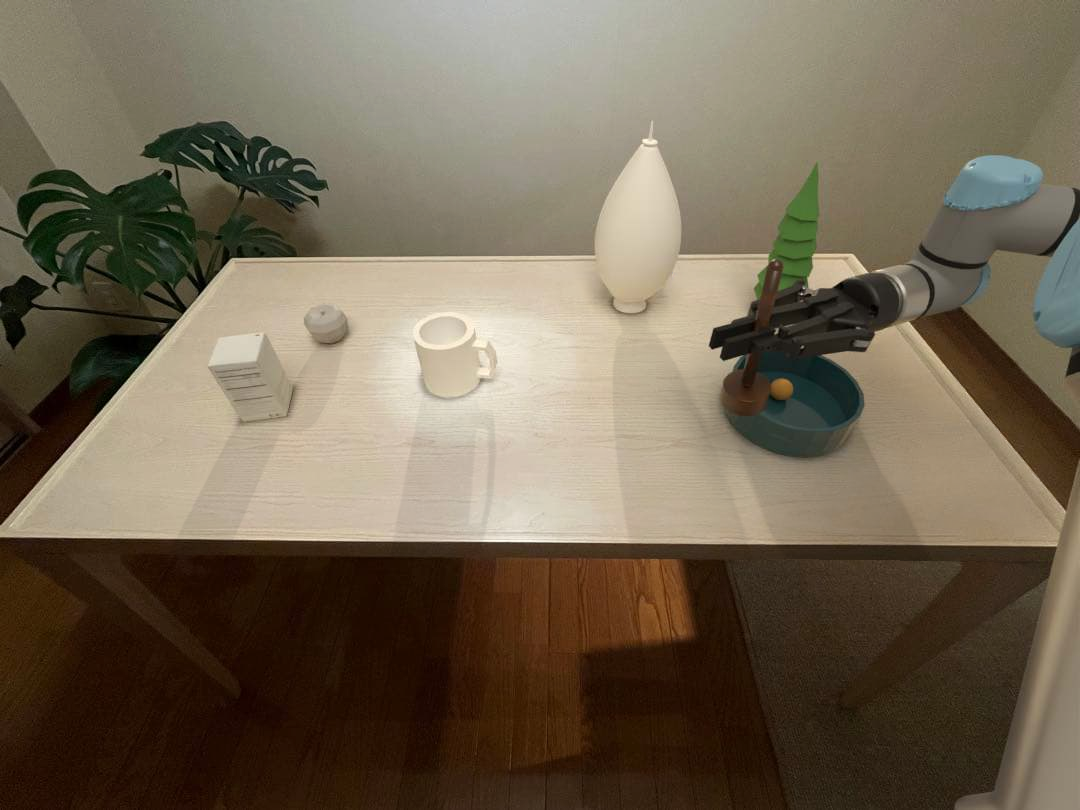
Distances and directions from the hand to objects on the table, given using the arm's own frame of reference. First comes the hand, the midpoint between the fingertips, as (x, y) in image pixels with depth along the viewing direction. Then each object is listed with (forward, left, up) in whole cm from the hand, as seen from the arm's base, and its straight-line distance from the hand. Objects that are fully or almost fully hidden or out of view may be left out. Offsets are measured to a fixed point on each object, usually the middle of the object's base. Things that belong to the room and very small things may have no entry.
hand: (718, 344), depth 61 cm
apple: (+53, +46, -24) cm, 74 cm away
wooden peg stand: (0, -7, -12) cm, 14 cm away
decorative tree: (+26, -37, -24) cm, 51 cm away
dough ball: (+7, -22, -21) cm, 31 cm away
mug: (+32, +26, -24) cm, 48 cm away
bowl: (+4, -22, -24) cm, 32 cm away
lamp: (+41, -13, -24) cm, 49 cm away
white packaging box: (+38, +58, -24) cm, 74 cm away
